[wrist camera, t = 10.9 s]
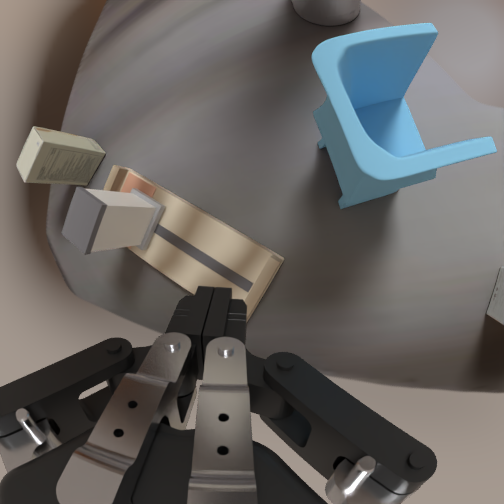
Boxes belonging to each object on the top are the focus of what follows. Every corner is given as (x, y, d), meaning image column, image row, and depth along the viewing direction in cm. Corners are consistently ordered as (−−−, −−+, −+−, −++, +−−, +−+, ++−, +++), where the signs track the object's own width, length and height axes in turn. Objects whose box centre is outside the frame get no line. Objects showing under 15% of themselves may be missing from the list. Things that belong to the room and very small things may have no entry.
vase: (405, 189, 29) (499, 152, 10) (340, 209, 31) (363, 190, 12) (381, 124, 29) (432, 21, 10) (317, 142, 31) (301, 44, 12)
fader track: (105, 226, 39) (89, 227, 36) (129, 168, 37) (113, 164, 34) (246, 322, 35) (238, 332, 32) (284, 258, 33) (280, 262, 30)
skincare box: (94, 138, 38) (34, 122, 27) (107, 153, 38) (44, 138, 26) (73, 172, 40) (14, 164, 28) (86, 188, 39) (23, 183, 28)
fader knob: (119, 230, 36) (58, 235, 26) (136, 188, 35) (75, 181, 25) (146, 249, 35) (86, 260, 25) (165, 206, 34) (106, 202, 24)
